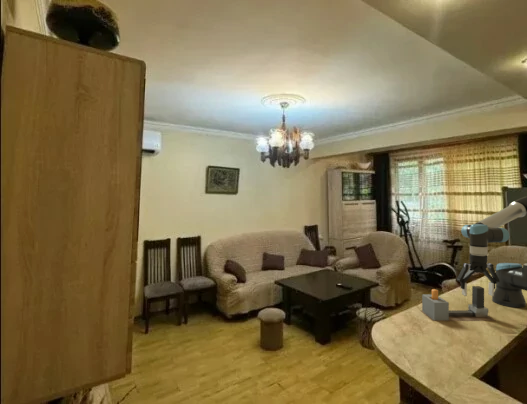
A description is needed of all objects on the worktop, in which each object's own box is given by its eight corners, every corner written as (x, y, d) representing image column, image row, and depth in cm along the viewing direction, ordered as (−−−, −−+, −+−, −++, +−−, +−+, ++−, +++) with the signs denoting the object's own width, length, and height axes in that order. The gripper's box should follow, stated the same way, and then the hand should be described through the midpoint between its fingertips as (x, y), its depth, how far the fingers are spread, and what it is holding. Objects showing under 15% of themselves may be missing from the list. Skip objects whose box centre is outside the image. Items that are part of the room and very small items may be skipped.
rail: (481, 314, 156) (481, 310, 156) (486, 316, 153) (486, 312, 153) (440, 314, 156) (440, 310, 156) (443, 316, 153) (443, 312, 153)
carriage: (479, 312, 157) (480, 285, 157) (488, 317, 151) (488, 289, 151) (468, 312, 157) (468, 285, 157) (476, 317, 151) (476, 289, 151)
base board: (478, 311, 161) (478, 310, 161) (496, 322, 148) (496, 320, 148) (419, 312, 161) (419, 310, 161) (432, 322, 148) (432, 320, 148)
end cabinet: (435, 310, 161) (435, 294, 160) (448, 320, 149) (448, 302, 148) (422, 310, 161) (422, 294, 161) (434, 320, 149) (434, 302, 149)
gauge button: (436, 304, 156) (436, 289, 156) (439, 306, 153) (439, 291, 153) (430, 304, 156) (430, 289, 156) (433, 306, 153) (433, 291, 153)
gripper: (497, 253, 157) (496, 292, 157) (449, 252, 157) (448, 292, 158) (508, 255, 149) (508, 297, 150) (458, 255, 150) (457, 297, 150)
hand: (477, 295), depth 154 cm, fingers open, 13 cm apart
